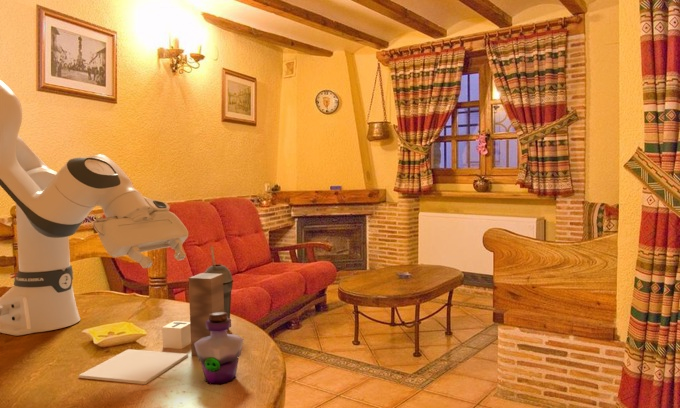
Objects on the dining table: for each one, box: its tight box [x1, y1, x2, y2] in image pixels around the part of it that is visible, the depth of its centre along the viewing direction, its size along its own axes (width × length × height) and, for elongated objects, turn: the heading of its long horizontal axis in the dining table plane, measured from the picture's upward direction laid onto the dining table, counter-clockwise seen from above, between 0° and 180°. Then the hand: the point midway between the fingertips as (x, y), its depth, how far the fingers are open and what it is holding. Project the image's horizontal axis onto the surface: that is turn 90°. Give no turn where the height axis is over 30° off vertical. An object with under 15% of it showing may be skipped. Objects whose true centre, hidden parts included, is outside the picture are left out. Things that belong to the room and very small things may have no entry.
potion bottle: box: [194, 312, 244, 386], centre depth 92 cm, size 9×9×12 cm
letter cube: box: [161, 320, 191, 350], centre depth 111 cm, size 4×4×5 cm
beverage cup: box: [203, 245, 234, 331], centre depth 120 cm, size 7×7×20 cm
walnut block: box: [188, 272, 224, 357], centre depth 106 cm, size 5×5×16 cm
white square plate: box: [78, 348, 189, 385], centre depth 99 cm, size 14×14×1 cm
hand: (166, 262), depth 109 cm, fingers open, 8 cm apart
